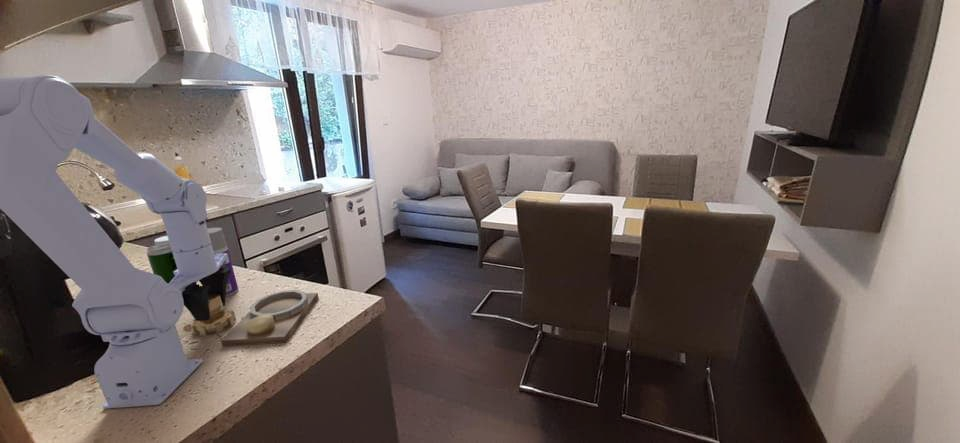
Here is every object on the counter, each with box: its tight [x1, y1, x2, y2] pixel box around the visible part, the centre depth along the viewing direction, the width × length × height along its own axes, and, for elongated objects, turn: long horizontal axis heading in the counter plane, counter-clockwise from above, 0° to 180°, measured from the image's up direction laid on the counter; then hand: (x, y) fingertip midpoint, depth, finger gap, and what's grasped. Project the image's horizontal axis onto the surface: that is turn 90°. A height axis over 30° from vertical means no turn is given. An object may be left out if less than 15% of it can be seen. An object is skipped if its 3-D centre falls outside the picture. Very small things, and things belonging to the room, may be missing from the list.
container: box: [207, 227, 239, 297], centre depth 82 cm, size 5×5×15 cm
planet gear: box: [190, 293, 236, 337], centre depth 71 cm, size 7×7×6 cm
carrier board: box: [220, 289, 319, 347], centre depth 73 cm, size 16×11×3 cm
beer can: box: [146, 242, 177, 284], centre depth 82 cm, size 5×5×12 cm
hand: (211, 312), depth 71 cm, fingers open, 4 cm apart
